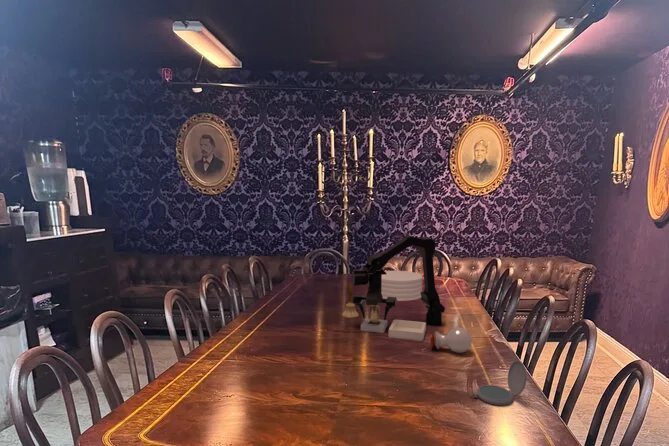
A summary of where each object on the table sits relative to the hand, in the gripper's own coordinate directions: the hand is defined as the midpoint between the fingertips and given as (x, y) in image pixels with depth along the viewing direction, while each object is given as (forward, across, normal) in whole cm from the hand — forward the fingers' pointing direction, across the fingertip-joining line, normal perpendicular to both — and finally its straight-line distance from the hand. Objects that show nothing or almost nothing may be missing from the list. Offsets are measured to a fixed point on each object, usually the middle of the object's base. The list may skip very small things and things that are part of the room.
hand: (374, 319), depth 183 cm
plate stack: (+4, +1, +63) cm, 63 cm away
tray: (+4, +15, -3) cm, 16 cm away
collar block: (+4, 0, 0) cm, 4 cm away
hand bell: (+4, -15, +15) cm, 22 cm away
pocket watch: (+4, +46, -50) cm, 68 cm away
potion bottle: (+4, +33, -17) cm, 37 cm away
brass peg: (+4, 0, 0) cm, 4 cm away
